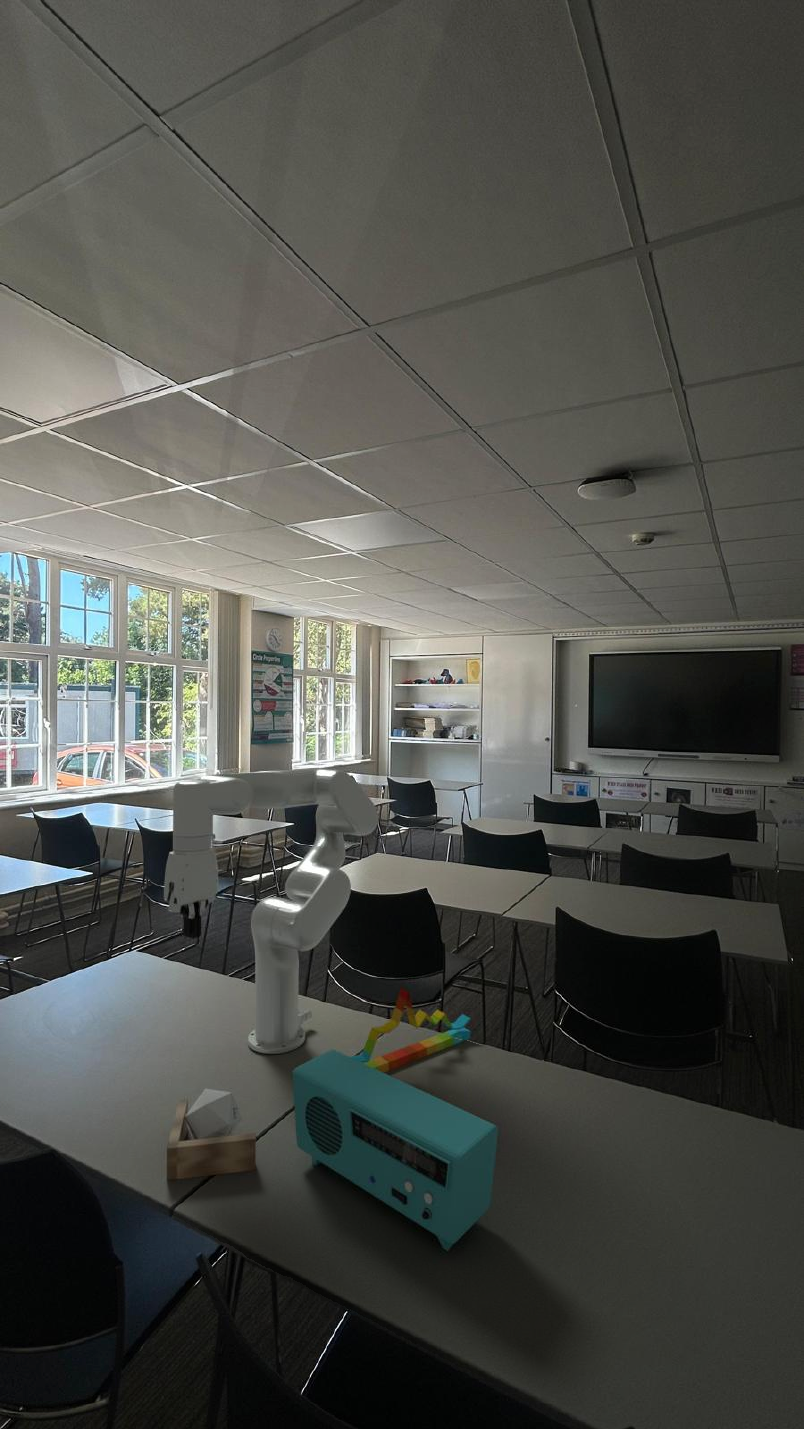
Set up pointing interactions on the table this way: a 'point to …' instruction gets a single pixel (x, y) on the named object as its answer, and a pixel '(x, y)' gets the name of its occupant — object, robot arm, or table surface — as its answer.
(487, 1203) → the radio
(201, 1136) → the die
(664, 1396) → the table surface
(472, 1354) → the table surface
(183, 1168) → the bracket
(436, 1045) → the chart
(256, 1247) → the table surface
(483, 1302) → the table surface
